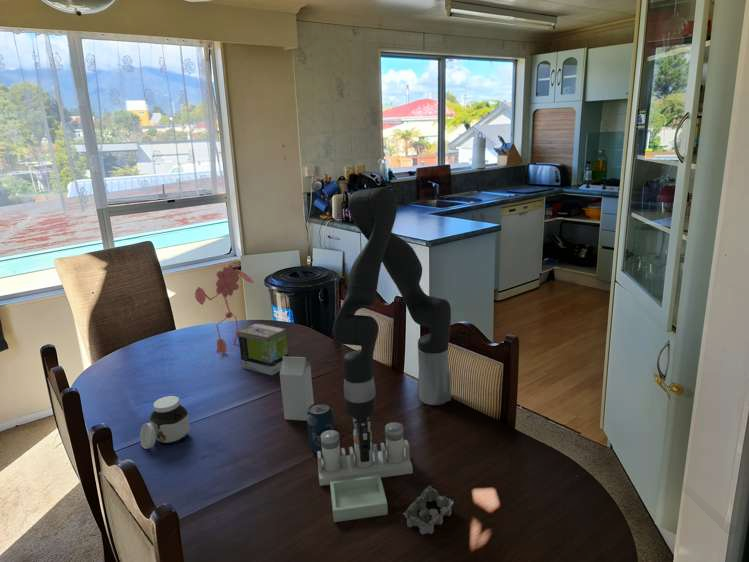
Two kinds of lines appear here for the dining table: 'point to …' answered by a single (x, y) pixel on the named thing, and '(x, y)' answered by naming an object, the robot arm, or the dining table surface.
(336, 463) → the cylinder
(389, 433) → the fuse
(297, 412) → the milk carton
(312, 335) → the dining table surface
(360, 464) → the marked fuse
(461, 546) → the dining table surface
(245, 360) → the tea box
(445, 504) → the egg carton
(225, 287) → the figurine
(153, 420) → the spread jar
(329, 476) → the clip rail
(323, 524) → the dining table surface
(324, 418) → the soda can
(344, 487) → the tray
